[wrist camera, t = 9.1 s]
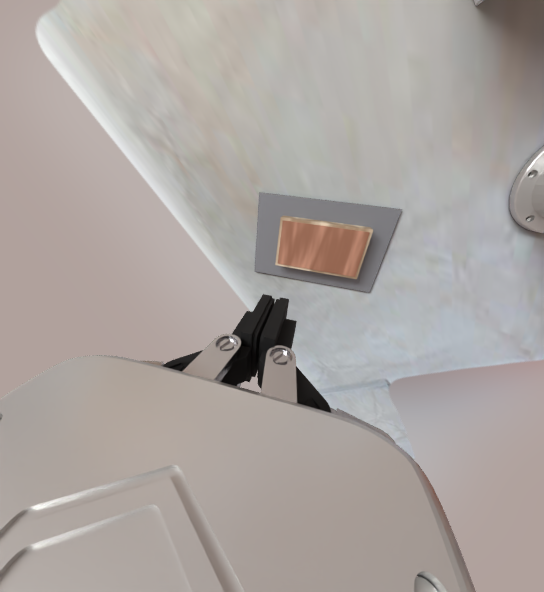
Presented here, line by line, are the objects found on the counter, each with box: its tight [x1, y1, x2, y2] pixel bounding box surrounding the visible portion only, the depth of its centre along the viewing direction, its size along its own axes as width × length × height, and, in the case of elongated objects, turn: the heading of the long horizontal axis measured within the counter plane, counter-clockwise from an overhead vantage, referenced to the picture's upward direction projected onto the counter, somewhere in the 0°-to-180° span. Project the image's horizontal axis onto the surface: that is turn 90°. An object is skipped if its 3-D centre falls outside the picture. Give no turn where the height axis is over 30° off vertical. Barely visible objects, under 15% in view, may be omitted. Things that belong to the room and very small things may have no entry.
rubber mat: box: [255, 192, 402, 292], centre depth 34 cm, size 22×14×1 cm, turn 84°
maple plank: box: [275, 216, 373, 279], centre depth 33 cm, size 3×8×14 cm
